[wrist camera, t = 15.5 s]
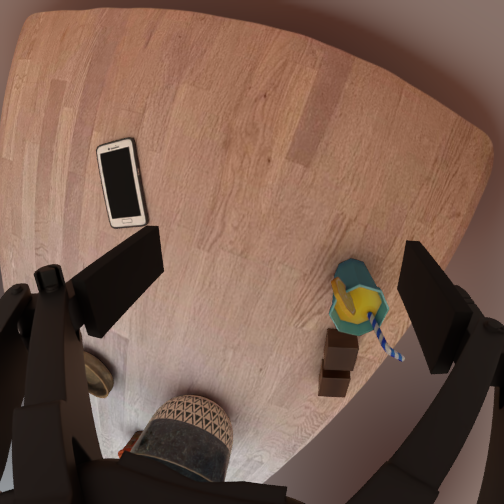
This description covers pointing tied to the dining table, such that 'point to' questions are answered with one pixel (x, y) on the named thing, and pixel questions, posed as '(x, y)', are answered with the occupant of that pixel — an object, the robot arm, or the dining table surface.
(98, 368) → the bowl
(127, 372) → the dining table surface
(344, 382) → the walnut block far
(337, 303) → the cup
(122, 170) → the cell phone
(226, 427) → the planter
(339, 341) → the walnut block near
